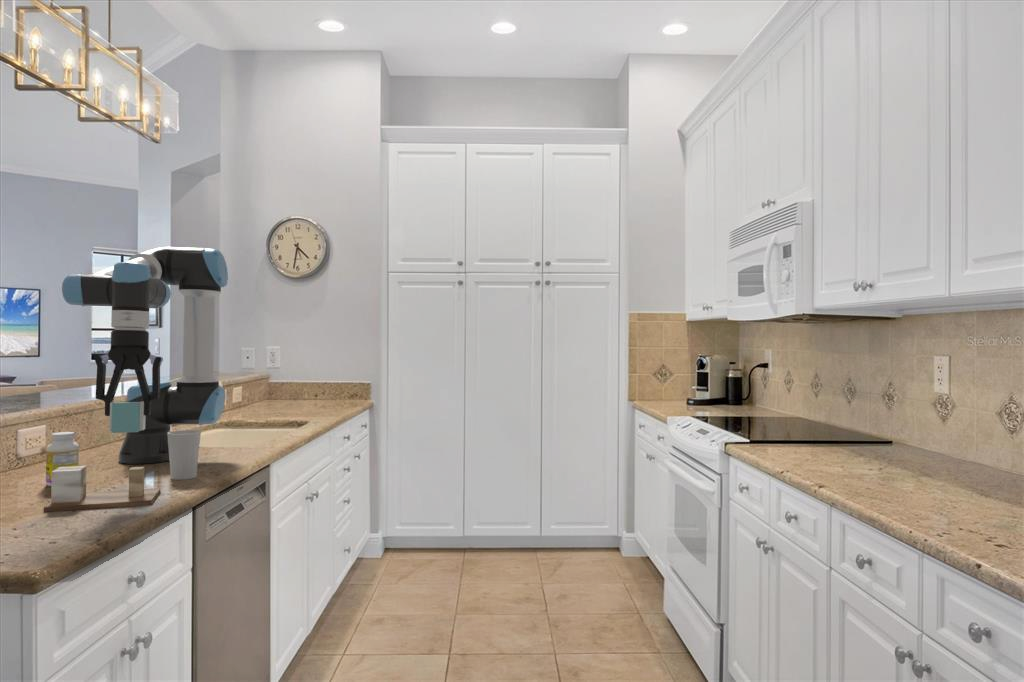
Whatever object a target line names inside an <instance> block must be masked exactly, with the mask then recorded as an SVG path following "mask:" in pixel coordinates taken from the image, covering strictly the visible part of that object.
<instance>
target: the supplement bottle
mask: <svg viewBox="0 0 1024 682" xmlns="http://www.w3.org/2000/svg"><path fill="white" fill-rule="evenodd" d="M50 438H51V440H52V442H51V443H49V444H48V445H47V446H46V460H45V462H46V463H45V465H46V466H45V468H46V469H45V483H46V485H47V486H48V487H52V471H54V470H55V469H57V468H59V467H72V466H80V465H79V463H80V461H79V460H80V446H79V443H77V442H76V441H74V439H75V432H74V431H62V432H61V431H60V432H59V431H58V432H52V433H51V437H50Z"/></svg>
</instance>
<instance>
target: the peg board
mask: <svg viewBox="0 0 1024 682" xmlns="http://www.w3.org/2000/svg"><path fill="white" fill-rule="evenodd" d="M87 467H88V465H79V466H72V467H59V468H57V469H55V470H54V471H52V487H51V486H50V487H51V488H50V489H51V492H50V493H51V495H50V496H51V500H50V502H49V503H47V504H46V505H45V506H44V507H43V513H49V512H50V513H51V512H63V511H78V510H93V509H109V508H124V507H137V506H138V505H141V506H151V505H153V503H154V502H155V500H156V499H157V497H158V496H159V495H160V493H161V488H160V487H157V488H155V487H154V488H145V466H134V467H133V466H131V467H130V468H129V469H128V489H125V490H124V489H123V490H109V491H107V490H105V491H92V492H91V491H89V492H87ZM138 507H139V506H138Z"/></svg>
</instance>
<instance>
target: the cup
mask: <svg viewBox="0 0 1024 682" xmlns="http://www.w3.org/2000/svg"><path fill="white" fill-rule="evenodd" d="M201 432H202V430H196V429H183V430H179V429H178V430H172V431H171V430H170V432H168V433H167V435H168V447H169V472H170V473H169V479H170V480H180V481H181V480H188V479H189V480H190V479H194V478H197V477H198V463H199V450H200V444H201V443H200V442H201V435H202V433H201Z"/></svg>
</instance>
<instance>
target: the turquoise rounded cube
mask: <svg viewBox="0 0 1024 682" xmlns="http://www.w3.org/2000/svg"><path fill="white" fill-rule="evenodd" d="M116 402H117V403H113V404H112V425H111V431H110V432H111V434H121V433H122V434H123V433H125V434H126V433H128V432H139V431H141V430H139V413H140V402H126V401H116Z"/></svg>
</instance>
